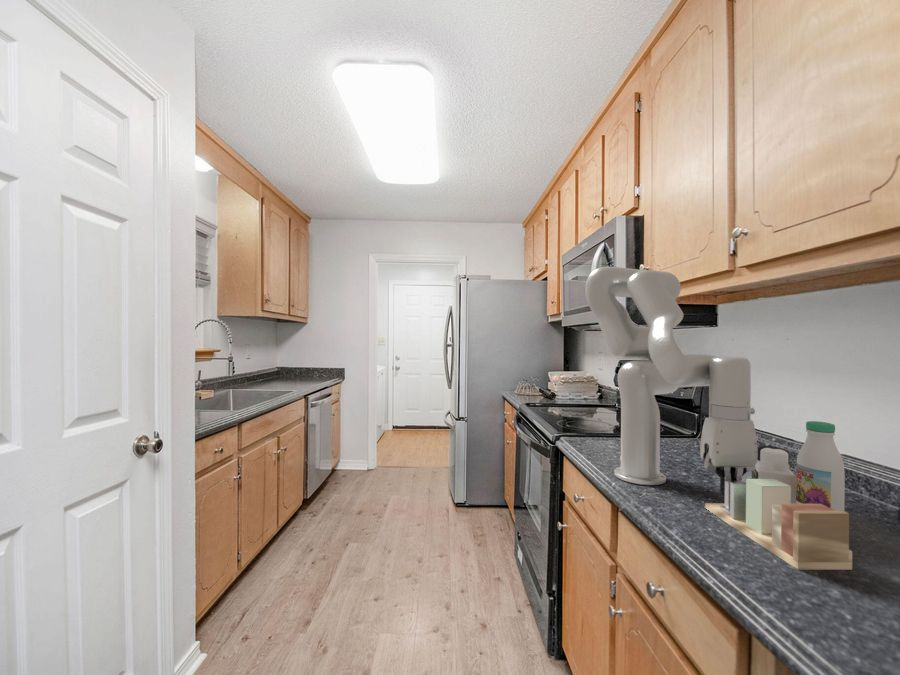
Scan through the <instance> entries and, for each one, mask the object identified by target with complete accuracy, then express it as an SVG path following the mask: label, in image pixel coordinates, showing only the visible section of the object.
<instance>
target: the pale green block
mask: <svg viewBox="0 0 900 675" xmlns="http://www.w3.org/2000/svg"><path fill="white" fill-rule="evenodd" d="M745 482H746V525H747V526H749V527H750V528H752V529H754V530H755V531H757V532H759V533H760V534H772V505H782V504H791V486H789V485H787V484H785V483H782V482H780V481H778V480H775V479H752V478H746V480H745Z"/></svg>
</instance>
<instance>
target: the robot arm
mask: <svg viewBox="0 0 900 675" xmlns="http://www.w3.org/2000/svg"><path fill="white" fill-rule="evenodd" d="M585 282H586V283H585V292H584V293H585V298H586V302H587V305H588V306H589V309H590V311H591V312H592V313H593V315H594V317H595V319H596V321H597V323H598V325H599V329H600V330H601V332H602V335H603V337H604V339H605V341H606V344H607V346H608V348H609V350H610V353H611V354H612V355H613V357H615V358H617V359H619V360H625V361H626V360H628V361H627V362H625V363H624V364H623V365H622V366H621V367H620V368H619V369H618V373H617V385H618V390H619V395H620V396H619V398H620V456H619V459H620V466H618V467H615V469H614V476H615V477H616V478H618V479H620V480H622V481H624V482H627V483H632V484H635V485H642V486H643V485H645V486H658V485H659V486H660V485H662V484H665V483H666V481H667V476H666V475H665V474H664V473H663V472H661V471H660V465H661V464H660V461H661V460H660V455H661V454H660V451H661V450H660V447H661V442H660V441H661V412H660V407H659V404H658V402H657V400H656V397H655V396H656V395H657V396H659V395H668V394H672V393H674V392H676V391H678V389H679V388H693V387H697V388H698V387H708V417H705V419H704V422H703V425H702V430H701V436H700V447H699V448H700V452H699V454H700V456H699V457H700V459H701V460H702V461H704V463H703V469H705V470H707V471H709V472H713V473H715V474H716V476H717V477H718V478H719V482H720V483H719V484H720V485H719V489H720V490H719V491H720V495H721V496H722V497H724V498H725V481H743V476H744V475H745V474H746V473H749V472H752V471H754V470H755V469H756V468H755V465H756V463H757V457H758V450H757V448H758V440H757V433H756V428H755V423H754V420H752V418H751V416H752V415H755V411H756V410H755V408H754V407H752V406H751V395H752V394H751V390H752V389H751V384H752V382H751V377H752V376H751V362H750V360H749V359H748V358H746V357H744V356H722V355H721V356H719V355H718V356H716V355H710V354H698V353H697V354H686V353H685V354H684V353H683V352H682V350H681V349H680V347H679V345H678V343H677V342H676V340H675V338H674V334H673V329H674V328H675V327H676V326H678V325H679V324H680V323H681V322H682V320H683V319H684V312H683V311H682V309H681V307H680V306H679V304H678V302H677V300H676V299H677V298H679V295H680V294H681V291H682V290H681V289H682V288H681V287H682V286H681V282H680V280H679V278H678V277H677V276H676V275H675V274H673V273H672V272H667V271H659V270H651V269H637V268H628V267H618V266H601V267H598V268H595V269H594V270H592V271H591V272H590V273H589V275H588V277H587V278H586V281H585ZM616 297H619V298H631V300H632V301H633V302H634V304H635V306H636V307H637V309H638V311H639V312H640V314H641V317H642V318H643V320H644V321H645V323H646V326H639V325H636V324H635V323H634V322H633V320H632V318H631V316H630V314H629V312H628V310H627V309H626V308H625V306H624V305H623V304H622V303H621V302H620V301H619V300H618V299H617V298H616ZM629 360H630V361H629Z"/></svg>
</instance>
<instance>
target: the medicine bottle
mask: <svg viewBox="0 0 900 675" xmlns="http://www.w3.org/2000/svg"><path fill="white" fill-rule="evenodd" d="M757 450H758V457H757V463H756V465H755V468H756V469H755V470H754V471H751V479H775V480H778V481H780V482H782V483H785V484H787V485H789V486H791V504H796V474H794V472H792V470H791V469H790V452H789V451H788V450H787V449H785V448H782V447H778V446H773V445H762V446H757Z"/></svg>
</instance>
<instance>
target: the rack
mask: <svg viewBox="0 0 900 675" xmlns="http://www.w3.org/2000/svg"><path fill="white" fill-rule="evenodd" d="M720 506H725V502H724V503H723V502H718V503H717V502H715V503H713V502H705V503H704V509H705V508H706V509H707V510H706V509H705V510H706V511H708V510H709V511H710V513H711V514H712V513H713V515H714V516H715V515H716V516H715V517H717V518H719V519H720V520H722V521H723V522H725V523H726V524H728V525H729V526H731V527H732V528H733V529H735V530H737V531H738V532H740V533H741V534H742V535H744V536H746V537H747V538H748V539H751V541H754V542H755V543H757V544H758V545H760V546H761V547H763V548H764V549H765V550H767V551H769V552H771V553H772V554H773V555H775V556H777V557H778V558H780V560H781V559H782V561H784V562H785V563H787V564H788V565H790V566H791V567H793V568H795V569H797V570H798V571H799V570H800V571H803V570H807V571H808V570H810V571H811V570H813V571H820V570H821V571H823V570H825V571H826V570H827V571H828V570H832V571H834V570H835V571H840V570H841V571H844V570H846V571H847V570H848V571H849V570H850V571H851V570H853V551H852V550H851V549H850V513H849V512H847V511H845V510H844V511H836V510H834V509H831V508H829V507H827V506H825V505H822V504H796V503H795V504H782V505H772V534H760V533H759V532H757V531H755V530H754V529H752V528H750V527H749V526H747V525H746V519H733V518H731V517H730V515H729V514H728V513H726V512H724V511H723V510H721V509H720ZM709 511H708V512H709Z"/></svg>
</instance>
